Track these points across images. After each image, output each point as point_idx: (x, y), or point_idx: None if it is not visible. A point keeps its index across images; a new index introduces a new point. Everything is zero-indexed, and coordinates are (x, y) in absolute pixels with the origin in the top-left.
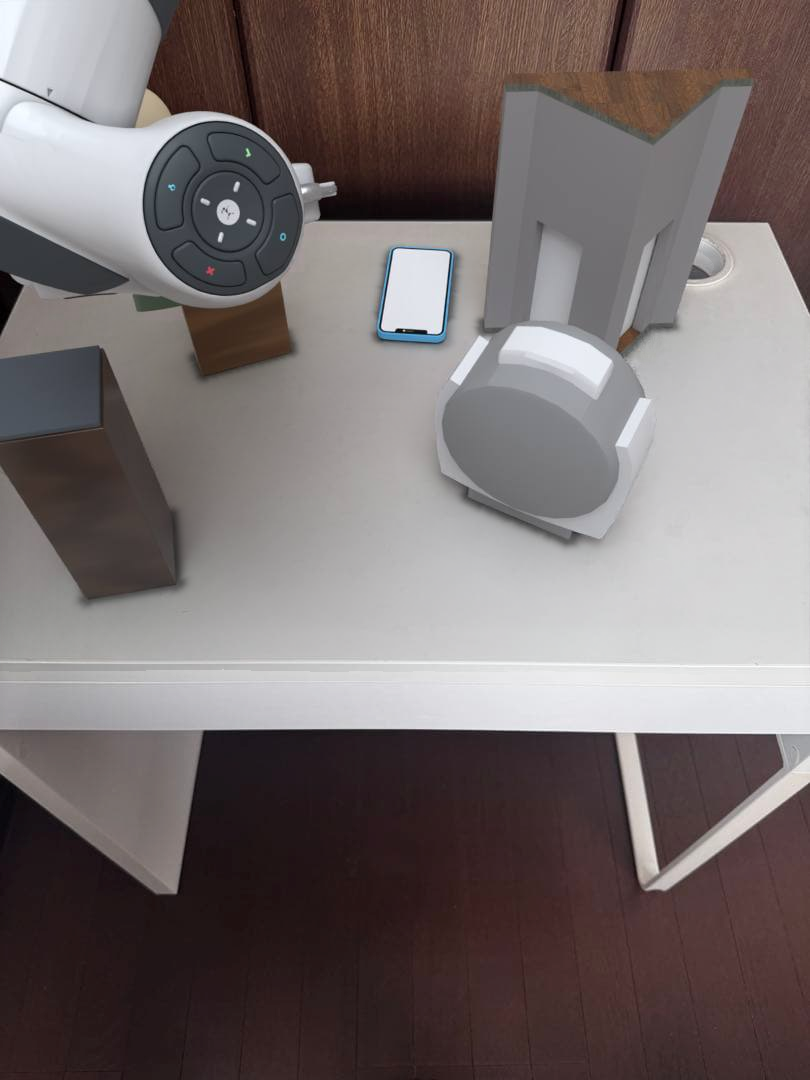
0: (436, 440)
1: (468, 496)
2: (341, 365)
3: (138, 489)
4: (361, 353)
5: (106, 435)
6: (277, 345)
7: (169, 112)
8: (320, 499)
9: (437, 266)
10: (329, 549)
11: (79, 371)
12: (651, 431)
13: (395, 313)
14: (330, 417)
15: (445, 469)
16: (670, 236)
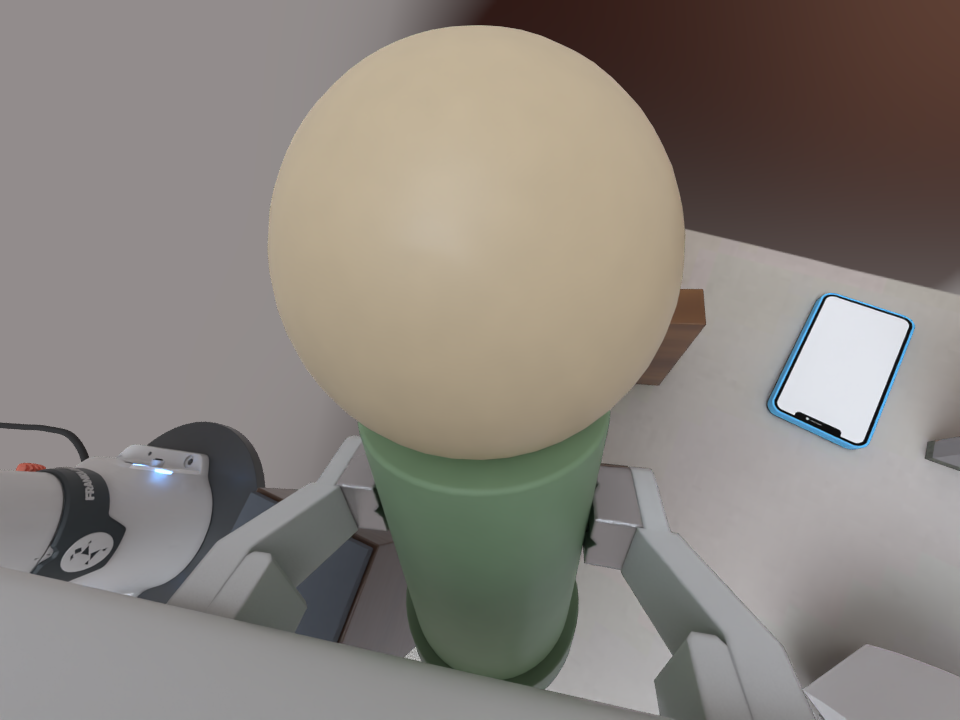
0: (837, 712)
1: (821, 717)
2: (708, 425)
3: (408, 636)
4: (737, 419)
5: None
6: (647, 380)
7: (684, 240)
8: (625, 593)
9: (884, 339)
10: (612, 669)
11: (319, 597)
12: None
13: (802, 388)
14: (672, 489)
15: (813, 700)
16: None
